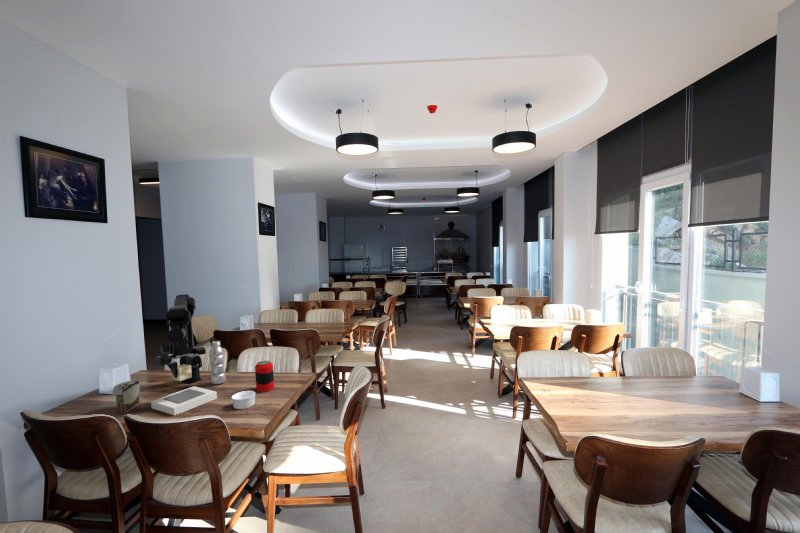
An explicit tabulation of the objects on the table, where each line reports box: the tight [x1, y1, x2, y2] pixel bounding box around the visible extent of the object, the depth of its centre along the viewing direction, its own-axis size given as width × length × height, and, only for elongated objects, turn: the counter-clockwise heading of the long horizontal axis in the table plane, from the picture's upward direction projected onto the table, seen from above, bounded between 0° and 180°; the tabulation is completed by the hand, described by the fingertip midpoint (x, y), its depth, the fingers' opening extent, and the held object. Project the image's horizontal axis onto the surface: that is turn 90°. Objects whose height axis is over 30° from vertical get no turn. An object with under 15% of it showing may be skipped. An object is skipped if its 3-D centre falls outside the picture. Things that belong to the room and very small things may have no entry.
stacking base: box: [150, 386, 218, 416], centre depth 159 cm, size 18×16×3 cm
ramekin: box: [231, 390, 256, 410], centre depth 154 cm, size 9×9×4 cm
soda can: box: [254, 360, 275, 393], centre depth 171 cm, size 8×8×12 cm
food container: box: [112, 378, 141, 414], centre depth 155 cm, size 12×6×10 cm, turn 5°
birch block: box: [171, 364, 192, 382], centre depth 158 cm, size 5×5×5 cm
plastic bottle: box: [208, 340, 227, 385], centre depth 180 cm, size 6×7×20 cm
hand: (182, 375), depth 158 cm, fingers closed on birch block, 5 cm apart
